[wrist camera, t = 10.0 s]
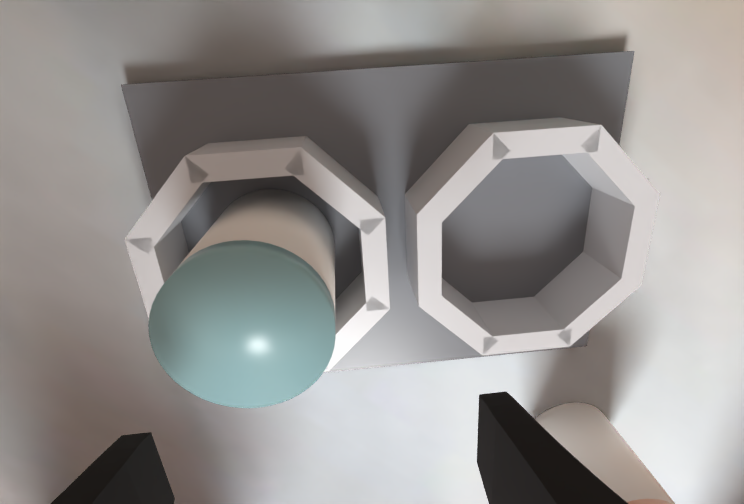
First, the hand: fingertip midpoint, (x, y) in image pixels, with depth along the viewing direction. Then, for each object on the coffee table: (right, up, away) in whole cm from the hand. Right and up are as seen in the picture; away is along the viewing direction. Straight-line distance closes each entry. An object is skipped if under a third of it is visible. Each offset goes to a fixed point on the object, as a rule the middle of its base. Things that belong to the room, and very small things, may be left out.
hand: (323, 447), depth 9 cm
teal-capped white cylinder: (-3, +4, +7) cm, 8 cm away
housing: (+2, +5, +7) cm, 9 cm away
